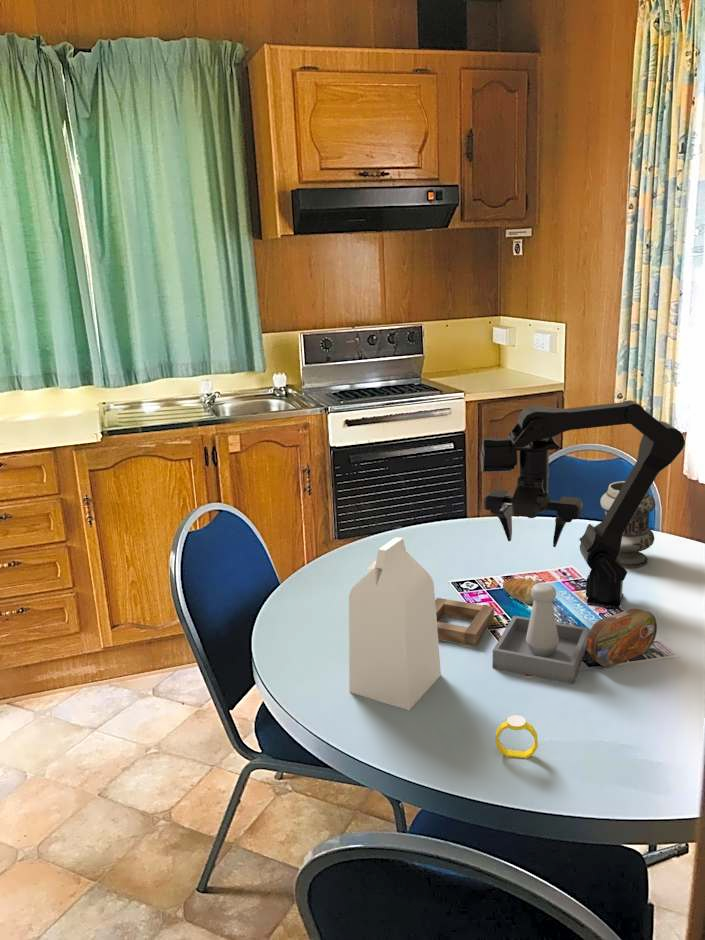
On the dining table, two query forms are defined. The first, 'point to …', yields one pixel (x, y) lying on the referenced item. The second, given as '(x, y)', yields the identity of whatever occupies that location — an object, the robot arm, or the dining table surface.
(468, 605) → the brown flat square frame
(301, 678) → the dining table surface
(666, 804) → the dining table surface
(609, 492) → the apothecary jar
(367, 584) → the milk
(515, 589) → the pastry
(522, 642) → the bin
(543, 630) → the salt shaker
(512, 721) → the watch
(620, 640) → the tin
